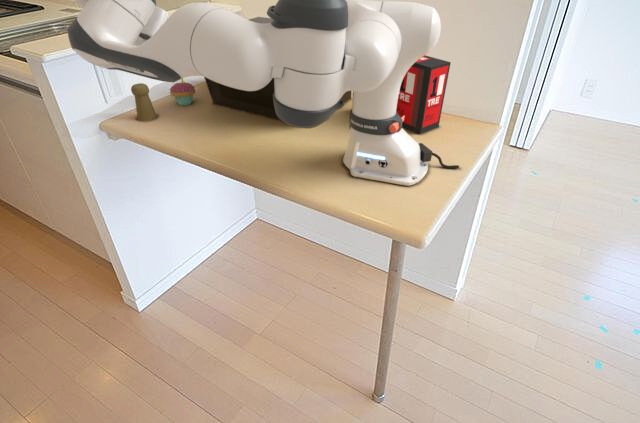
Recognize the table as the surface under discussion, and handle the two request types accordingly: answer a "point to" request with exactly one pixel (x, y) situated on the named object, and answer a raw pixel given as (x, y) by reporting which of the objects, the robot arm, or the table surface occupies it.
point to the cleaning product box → (423, 94)
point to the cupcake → (182, 92)
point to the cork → (143, 102)
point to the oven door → (244, 98)
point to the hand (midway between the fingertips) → (174, 55)
